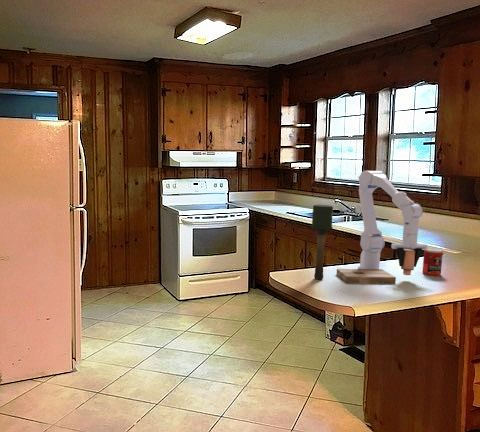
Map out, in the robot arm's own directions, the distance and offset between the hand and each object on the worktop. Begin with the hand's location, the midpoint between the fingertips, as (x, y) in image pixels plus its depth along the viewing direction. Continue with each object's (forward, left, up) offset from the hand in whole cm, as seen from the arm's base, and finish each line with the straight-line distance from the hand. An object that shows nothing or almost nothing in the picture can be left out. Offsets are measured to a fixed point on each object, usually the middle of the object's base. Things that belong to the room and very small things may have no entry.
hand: (407, 266), depth 216 cm
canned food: (-12, +17, -6) cm, 22 cm away
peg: (0, 0, -3) cm, 3 cm away
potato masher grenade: (-1, -37, -6) cm, 38 cm away
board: (-2, -17, -6) cm, 18 cm away
